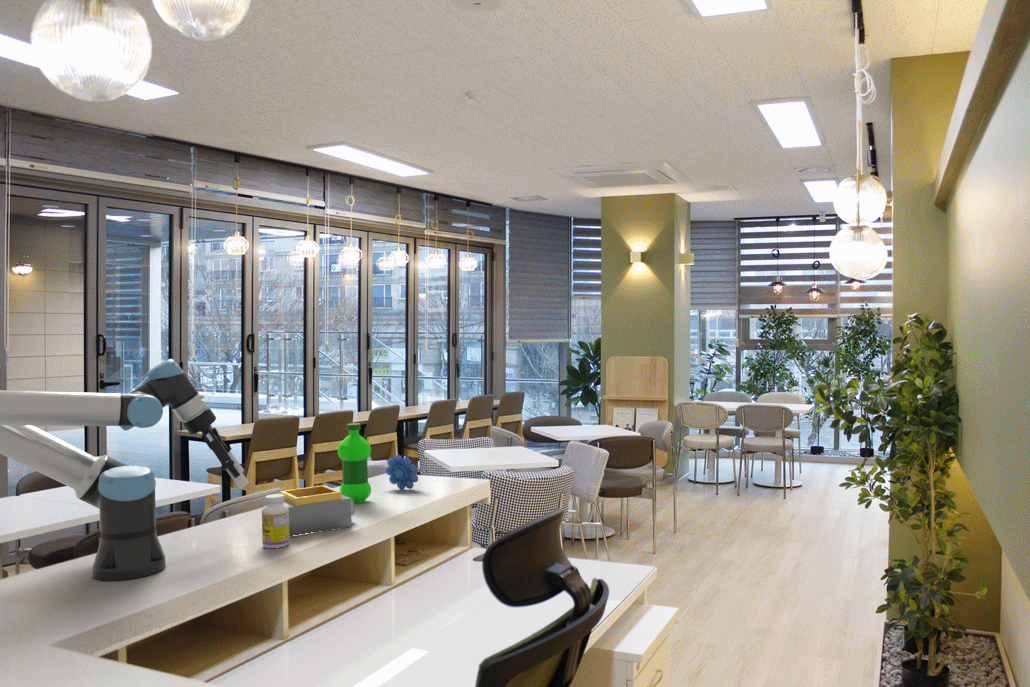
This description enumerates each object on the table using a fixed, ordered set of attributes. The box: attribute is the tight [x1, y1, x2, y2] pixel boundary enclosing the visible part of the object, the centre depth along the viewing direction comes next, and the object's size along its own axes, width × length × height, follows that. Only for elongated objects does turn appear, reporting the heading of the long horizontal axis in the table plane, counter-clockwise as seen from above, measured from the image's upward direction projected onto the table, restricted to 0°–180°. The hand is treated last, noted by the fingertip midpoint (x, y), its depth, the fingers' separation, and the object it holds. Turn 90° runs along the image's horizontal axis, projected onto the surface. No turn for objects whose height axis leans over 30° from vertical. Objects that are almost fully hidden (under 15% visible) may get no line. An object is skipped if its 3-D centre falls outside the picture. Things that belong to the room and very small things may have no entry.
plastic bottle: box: [337, 422, 372, 505], centre depth 253 cm, size 10×10×25 cm
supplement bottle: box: [261, 493, 291, 549], centre depth 202 cm, size 7×7×13 cm
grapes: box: [385, 454, 419, 491], centre depth 271 cm, size 12×7×12 cm, turn 78°
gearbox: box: [279, 484, 356, 536], centre depth 222 cm, size 21×14×10 cm, turn 124°
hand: (242, 479), depth 210 cm, fingers open, 13 cm apart
